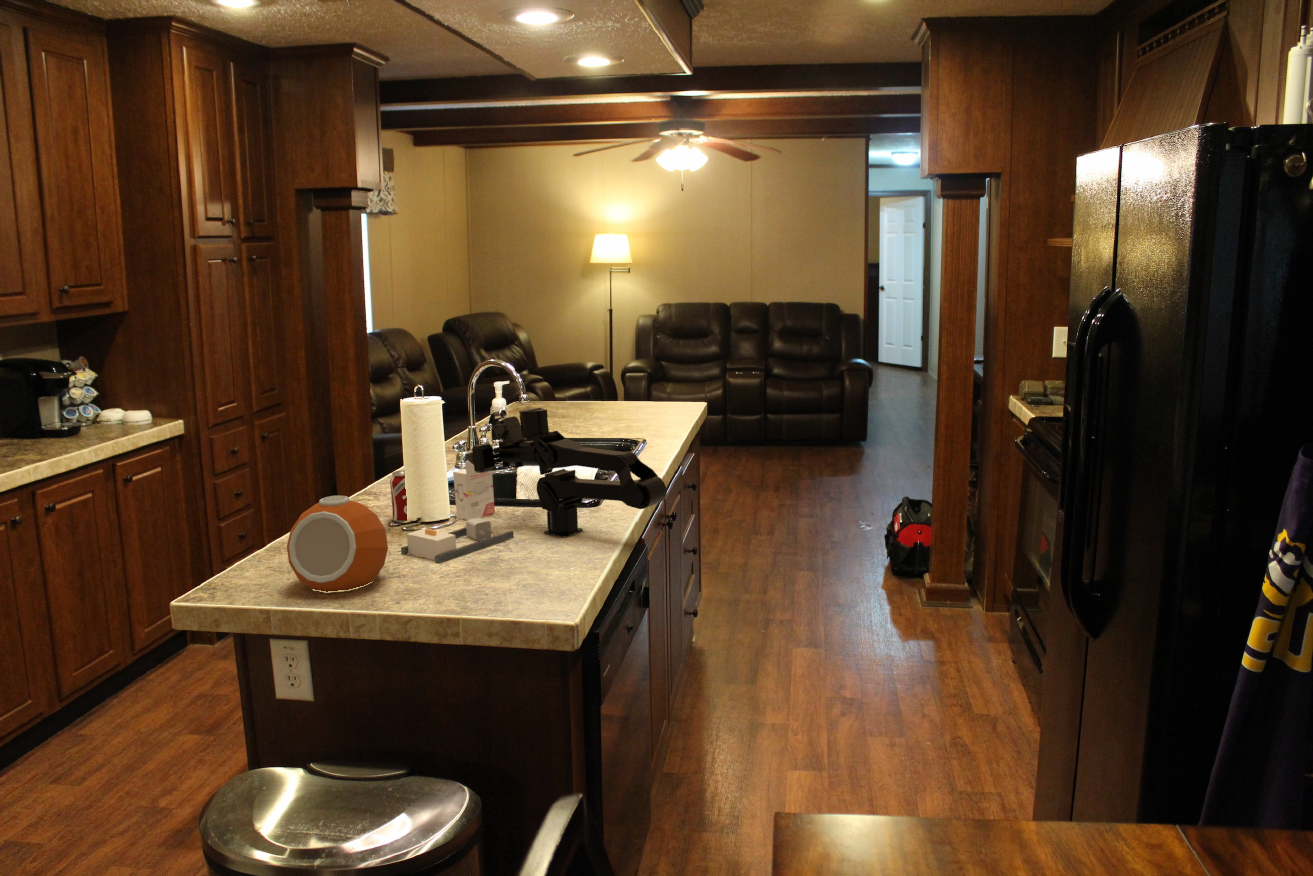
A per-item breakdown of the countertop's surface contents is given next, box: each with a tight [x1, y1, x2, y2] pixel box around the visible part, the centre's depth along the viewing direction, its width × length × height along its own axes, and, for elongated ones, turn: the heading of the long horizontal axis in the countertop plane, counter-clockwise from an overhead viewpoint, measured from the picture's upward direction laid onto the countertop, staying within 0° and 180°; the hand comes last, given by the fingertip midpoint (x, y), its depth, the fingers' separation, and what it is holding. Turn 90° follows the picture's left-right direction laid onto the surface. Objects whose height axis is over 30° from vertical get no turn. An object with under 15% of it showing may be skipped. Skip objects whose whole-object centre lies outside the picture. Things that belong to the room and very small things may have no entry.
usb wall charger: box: [465, 517, 494, 541], centre depth 232 cm, size 4×7×4 cm, turn 37°
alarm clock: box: [286, 495, 389, 592], centre depth 203 cm, size 19×18×17 cm
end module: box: [406, 528, 457, 561], centre depth 221 cm, size 10×5×6 cm, turn 53°
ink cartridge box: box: [452, 459, 496, 521], centre depth 251 cm, size 9×5×15 cm, turn 143°
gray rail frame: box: [400, 526, 514, 564], centre depth 227 cm, size 12×22×2 cm, turn 143°
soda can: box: [389, 469, 407, 523], centre depth 248 cm, size 7×7×12 cm
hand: (480, 453), depth 246 cm, fingers open, 9 cm apart
